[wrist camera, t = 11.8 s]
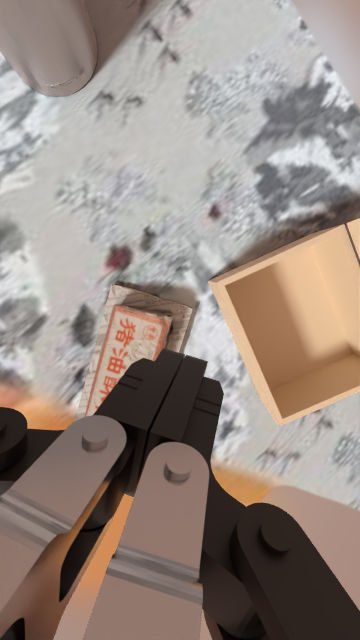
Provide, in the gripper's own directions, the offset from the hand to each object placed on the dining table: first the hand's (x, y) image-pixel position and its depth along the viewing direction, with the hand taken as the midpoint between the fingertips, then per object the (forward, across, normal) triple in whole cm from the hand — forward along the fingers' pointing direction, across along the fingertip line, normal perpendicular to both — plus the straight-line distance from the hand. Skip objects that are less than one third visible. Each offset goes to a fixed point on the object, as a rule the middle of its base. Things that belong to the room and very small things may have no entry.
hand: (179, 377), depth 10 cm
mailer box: (+29, -7, +8) cm, 31 cm away
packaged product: (+23, +9, +17) cm, 30 cm away
